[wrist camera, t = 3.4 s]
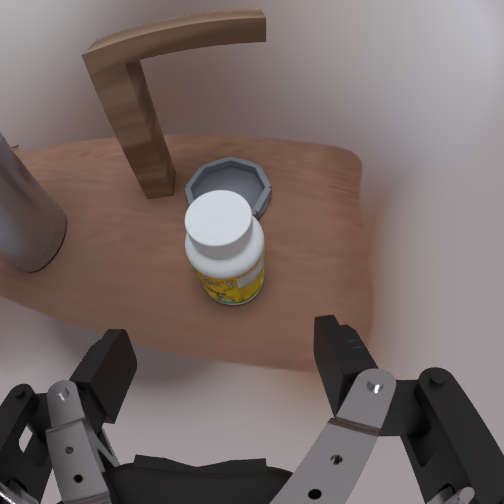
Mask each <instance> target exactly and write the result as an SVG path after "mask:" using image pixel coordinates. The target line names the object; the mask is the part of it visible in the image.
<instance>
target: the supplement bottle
mask: <svg viewBox="0 0 504 504" xmlns="http://www.w3.org/2000/svg"><path fill="white" fill-rule="evenodd" d="M185 227H186V230H187V234H186V238H185V249H186V253H187V256H188V259H189V261H190V262H191V264H192V266H193V268H194V270H195V272H196V274H197V275H198V277H199V279H200V280H201V282H202V284H203V286H204V288H205V290H206V291H207V292H208V294H209V295H210V296H211V297H212V298H213V299H214V300H216V301H218V302H220V303H223V304H228V305H240V304H244V303H246V302H248V301H250V300H251V299H253V298H254V297H255V296H256V295H257V294H258V292H259V291H260V289H261V287H262V285H263V282H264V234H263V230H262V228H261V226H260V224H259V222H258V221H257V219H256V218H255V217H254V216H253V215H252V211H251V208H250V206H249V204H248V202H247V201H246V200H245V199H244V198H243V197H242V196H240V195H239V194H237V193H235V192H232V191H227V190H216V191H211V192H208V193H205V194H203V195H201V196H200V197H198V198H197V199H196V200H195V201H193V203H192V204H191V205H190V207H189V208H188V210H187V212H186V216H185Z"/></svg>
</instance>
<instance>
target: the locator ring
mask: <svg viewBox="0 0 504 504" xmlns="http://www.w3.org/2000/svg"><path fill="white" fill-rule="evenodd" d="M184 189H185V192H186V196H187V199H188V204H189V207H190V205H191V204H192V203H193V201H195V200H196V199H197V198H198V197H200V196H201V195H203V194H205V193H208V192H211V191H216V190H227V191H232V192H235V193H237V194H239V195H240V196H242V197H243V198H244V199H245V200H246V201H247V202H248V204H249V206H250V208H251V211H252V215H253V216H254V217H255V218H256V219H258V218H260V217H261V215H262V214H263V213H264V211H265V210H266V208H267V206H268V202H269V198H270V196H271V184H270V182H269V181H268V179H267V177H266V175H265V173H264V171H263V170H262V168H261V166H258V164H257V163H253V162H250V161H247V160H243V159H240V158H236V157H233V156H232V158H230V157H226V158H223V159H219V160H216V161H213V162H209V163H206V164H203V167H202V166H200V167H199V168H198V170H197V171H196V172H195V174H194V175H193V176H192V178H191V179H190V180H189V182H188V183H187V184H186V186H185V188H184Z"/></svg>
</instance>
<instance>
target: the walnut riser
mask: <svg viewBox="0 0 504 504" xmlns="http://www.w3.org/2000/svg"><path fill="white" fill-rule="evenodd" d="M251 42H266V17H265V15H264V14H263V12H262V11H261V9H260V8H244V9H231V10H220V11H211V12H203V13H196V14H190V15H184V16H179V17H175V18H170V19H164V20H160V21H156V22H152V23H148V24H144V25H140V26H137V27H133V28H130V29H126V30H123V31H120V32H117V33H114V34H111V35H108V36H105V37H102V38H100V39H97V40H96V41H95V42H94V43H93V44H92V45H91V46H90V47H89V48H88V49H87V50H86V51H85V52H84V53H83V54H82V57H83V60H84V63H85V65H86V68H87V70H88V73H89V75H90V78H91V80H92V82H93V85H94V87H95V90H96V92H97V94H98V97H99V99H100V101H101V104H102V106H103V108H104V110H105V113H106V115H107V117H108V119H109V122H110V124H111V126H112V128H113V130H114V132H115V135H116V137H117V139H118V141H119V143H120V145H121V147H122V149H123V151H124V153H125V155H126V157H127V159H128V162H129V164H130V166H131V168H132V170H133V172H134V173H135V175H136V177H137V179H138V181H139V183H140V185H141V187H142V189H143V191H144V193H145V195H146V197H147V199H150V198H156V197H163V196H170V195H173V192H174V182H175V173H176V171H175V168H174V166H173V163H172V160H171V157H170V154H169V151H168V148H167V145H166V142H165V139H164V136H163V134H162V130H161V128H160V124H159V122H158V118H157V115H156V112H155V109H154V106H153V102H152V99H151V96H150V93H149V90H148V86H147V83H146V80H145V76H144V73H143V70H142V66H141V63H140V60H141V59H145V58H149V57H153V56H158V55H162V54H167V53H172V52H177V51H182V50H188V49H194V48H200V47H208V46H216V45H226V44H236V43H251Z"/></svg>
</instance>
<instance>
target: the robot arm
mask: <svg viewBox="0 0 504 504" xmlns="http://www.w3.org/2000/svg"><path fill="white" fill-rule="evenodd" d="M65 230H66V218H65V215H64V213H63V212H62V211H61V209H60V208H59V207H58V206H57V205H56V204H55V202H54V201H53V200H52V199H51V198H50V197H49V195H48V194H47V193H46V192H45V190H44V189H43V188H42V187H41V186H40V184H39V183H38V182H37V181H36V179H35V178H34V177H33V176H32V174H31V173H30V172H29V171H28V169H27V168H26V167H25V165H24V164H23V163H22V162H21V160H20V159H19V158H18V156H17V155H16V154H15V152H14V151H13V149H12V148H11V147H10V145H9V144H8V142H7V141H6V140H5V138H4V137H3V136H2V134H1V133H0V253H1V254H2V255H3V256H5V257H6V258H7V259H9V260H10V261H11V262H13V263H14V264H16V265H17V266H18V267H20V268H21V269H23V270H25V271H27V272H33V271H37V270H39V269H41V268H42V267H43V266H45V265H46V264H47V263H48V262H49V261H50V260H51V259H52V258H53V256H54V255H55V254H56V252H57V251H58V249H59V247H60V245H61V243H62V240H63V238H64V234H65ZM314 357H315V362H316V364H317V367H318V370H319V373H320V376H321V379H322V382H323V385H324V388H325V391H326V394H327V397H328V399H329V403H330V406H331V409H332V412H333V415H334V418H331V419H330V420H329V421H328V422H327V424H326V426H325V427H324V429H323V430H322V432H321V434H320V435H319V437H318V438H317V440H316V441H315V443H314V445H313V446H312V447H311V449H310V451H309V452H308V453H307V455H306V456H305V458H304V459H303V461H302V462H301V463H300V465H299V466H298V468H297V469H296V470H295V472H294V473H292V472H290V471H287V470H284V469H280V468H275V467H268V466H266V459H265V458H263V459H248V460H230V461H226V462H221V463H217V464H211V465H206V466H201V467H194V466H190V465H186V464H183V463H179V462H176V461H173V460H169V459H166V458H159V457H150V456H143V455H136V456H135V459H134V463H128V464H123V465H120V464H119V462H118V460H117V458H116V456H115V454H114V452H113V449H112V447H111V445H110V443H109V440H108V438H107V436H106V433H105V431H104V429H103V428H102V425H103V423H104V422H105V423H111V424H114V423H115V421H116V418H117V415H118V413H119V411H120V408H121V406H122V403H123V401H124V398H125V396H126V393H127V391H128V389H129V386H130V384H131V381H132V379H133V377H134V374H135V372H136V369H137V360H136V356H135V353H134V351H133V348H132V345H131V342H130V339H129V337H128V334H127V332H126V330H124V329H109V330H107V332H106V333H105V334H104V336H103V338H102V339H101V340H99V341H97V342H96V343H95V344H94V345H92V346H91V347H90V349H89V350H88V352H87V353H86V355H85V356H84V358H83V359H82V361H81V362H80V364H79V365H78V367H77V369H76V370H75V371H74V373H73V374H72V376H71V378H70V379H69V380H63V381H59V382H57V383H55V384H54V385H52V386H51V387H50V388H49V390H48V392H47V393H40V394H35V392H34V391H33V389H32V388H31V386H30V385H28V384H20V385H17V386H15V387H14V388H13V389H12V390H11V391H10V392H9V394H8V395H7V397H6V398H5V400H4V401H3V403H2V404H1V406H0V504H40V503H41V500H42V497H43V494H44V490H45V487H46V484H47V482H48V479H49V476H50V473H51V470H52V468H53V470H54V474H55V478H56V481H57V485H58V488H59V491H60V494H61V498H62V501H60V502H59V503H57V504H345V502H346V501H347V499H348V497H349V496H350V494H351V492H352V490H353V488H354V486H355V485H356V483H357V481H358V479H359V477H360V475H361V473H362V471H363V469H364V467H365V465H366V462H367V460H368V458H369V456H370V454H371V452H372V449H373V447H374V444H375V443H376V440H377V438H378V436H400V437H401V440H402V442H403V444H404V447H405V449H406V452H407V455H408V457H409V460H410V463H411V465H412V468H413V471H414V473H415V476H416V479H417V482H418V484H419V487H420V490H421V493H422V496H423V499H424V502H425V504H504V455H503V454H502V452H501V450H500V448H499V446H498V445H497V443H496V441H495V440H494V438H493V436H492V435H491V433H490V431H489V429H488V428H487V426H486V425H485V423H484V422H483V420H482V418H481V417H480V415H479V414H478V412H477V410H476V409H475V407H474V406H473V404H472V403H471V401H470V400H469V398H468V397H467V395H466V394H465V392H464V391H463V390H462V388H461V387H460V385H459V384H458V382H457V381H456V380H455V378H454V377H453V375H452V374H451V373H450V372H448V371H447V370H445V369H442V368H437V367H434V368H428V369H426V370H424V371H423V372H422V373H421V374H420V376H419V379H418V380H395V378H394V376H393V375H392V374H391V373H389V372H388V371H385V370H382V369H379V368H378V367H377V365H376V363H375V361H374V360H373V358H372V357H371V355H370V353H369V351H368V350H367V348H366V346H364V343H363V342H362V340H361V338H360V337H359V335H358V333H357V332H356V330H354V329H353V328H351V327H350V326H348V325H341V326H340V325H339V323H338V321H337V320H336V318H335V316H334V315H327V316H319V317H315V322H314ZM26 426H27V427H28V428H29V429H30V431H31V432H32V433H33V434H32V436H31V439H30V441H29V443H28V445H27V447H26V449H25V451H24V453H23V452H22V451H21V449H20V447H19V439H20V437H21V435H22V433H23V431H24V429H25V427H26Z"/></svg>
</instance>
